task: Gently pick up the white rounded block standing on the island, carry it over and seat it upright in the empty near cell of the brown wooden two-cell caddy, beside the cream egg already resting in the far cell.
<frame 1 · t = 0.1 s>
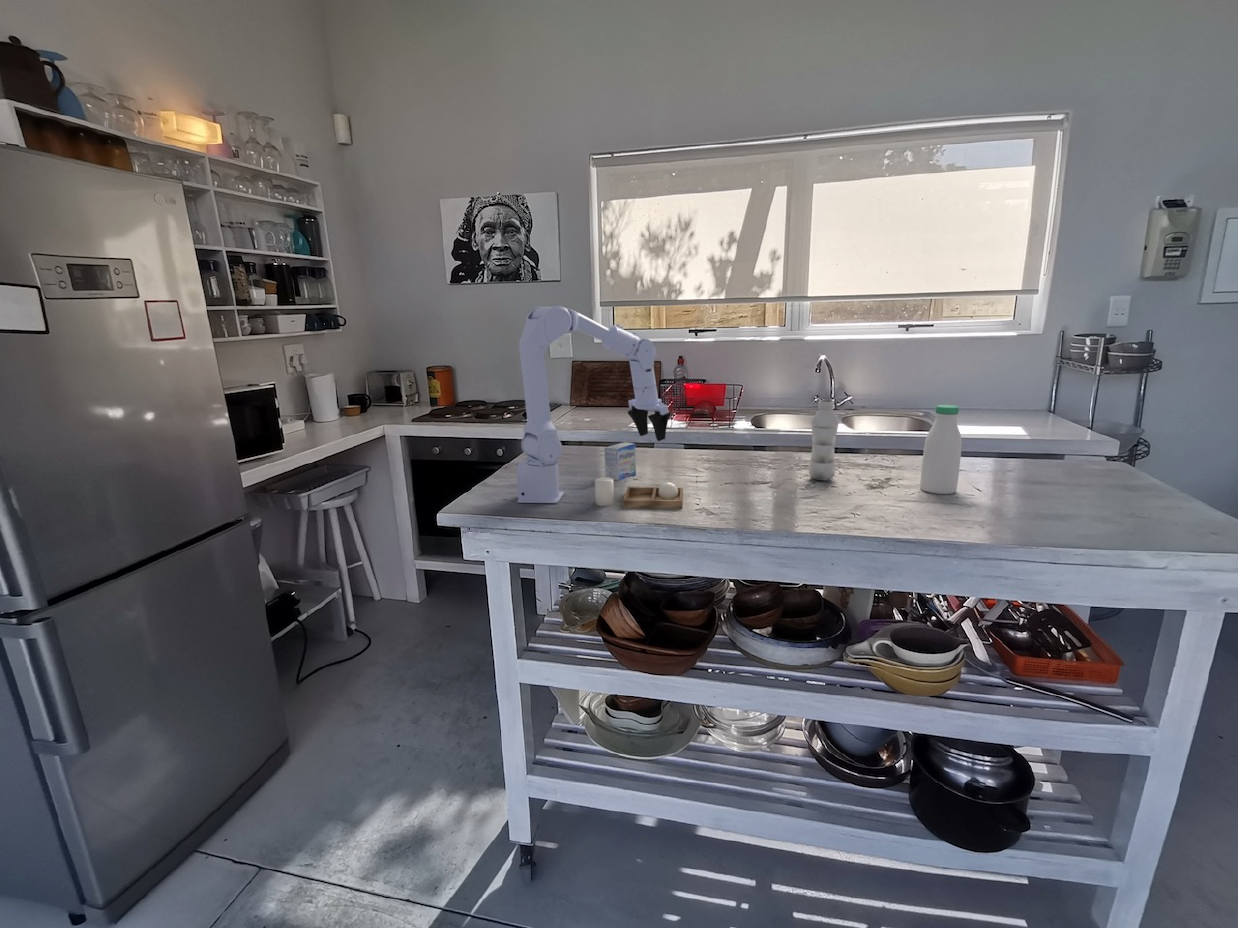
hand: (652, 437, 157), 11 cm above the counter, tool pointing down, fingers open, 7 cm apart
plastic bottle: (821, 480, 154), on the counter
ceramic egg: (668, 501, 138), resting on caddy
caddy: (653, 502, 138), on the counter
medicine box: (620, 478, 160), on the counter
milk bottle: (937, 490, 143), on the counter
white rounded block: (604, 505, 138), on the counter
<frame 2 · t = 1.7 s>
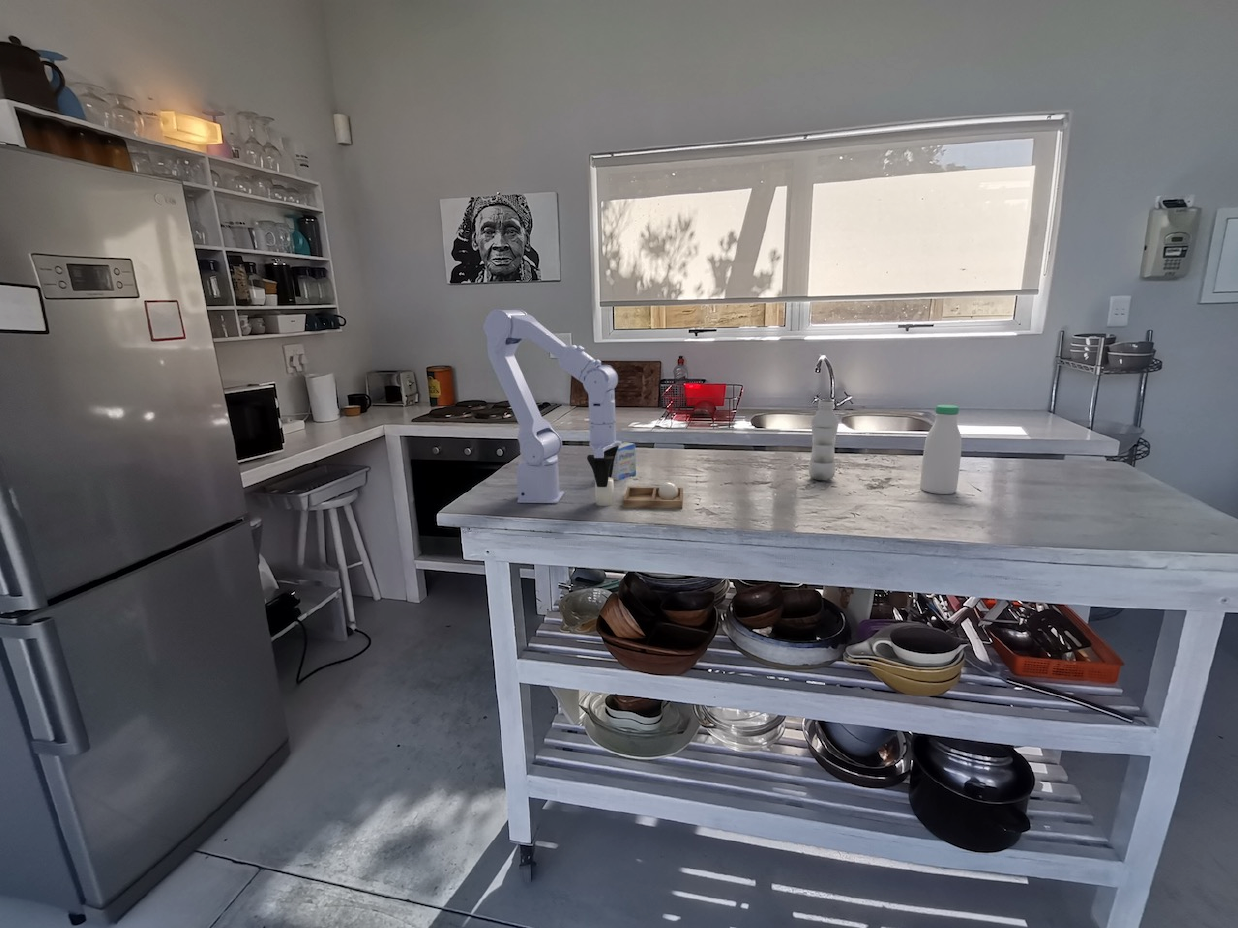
hand: (604, 481, 136), 5 cm above the counter, tool pointing down, fingers open, 7 cm apart
nothing on the counter moved.
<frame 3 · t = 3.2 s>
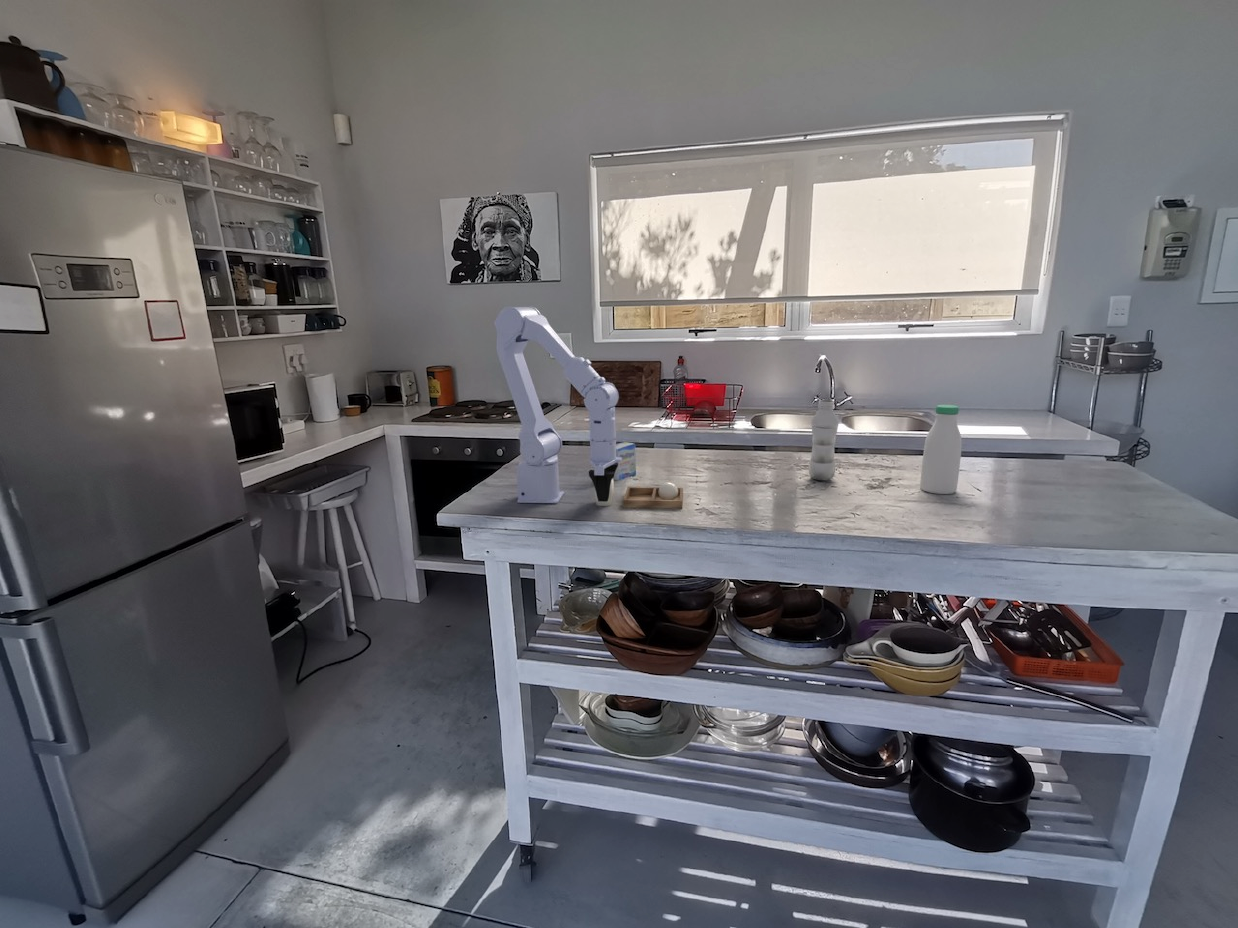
hand: (604, 497, 137), 2 cm above the counter, tool pointing down, fingers closed on white rounded block, 4 cm apart
white rounded block: (604, 505, 138), on the counter, touching gripper
everything else where it was.
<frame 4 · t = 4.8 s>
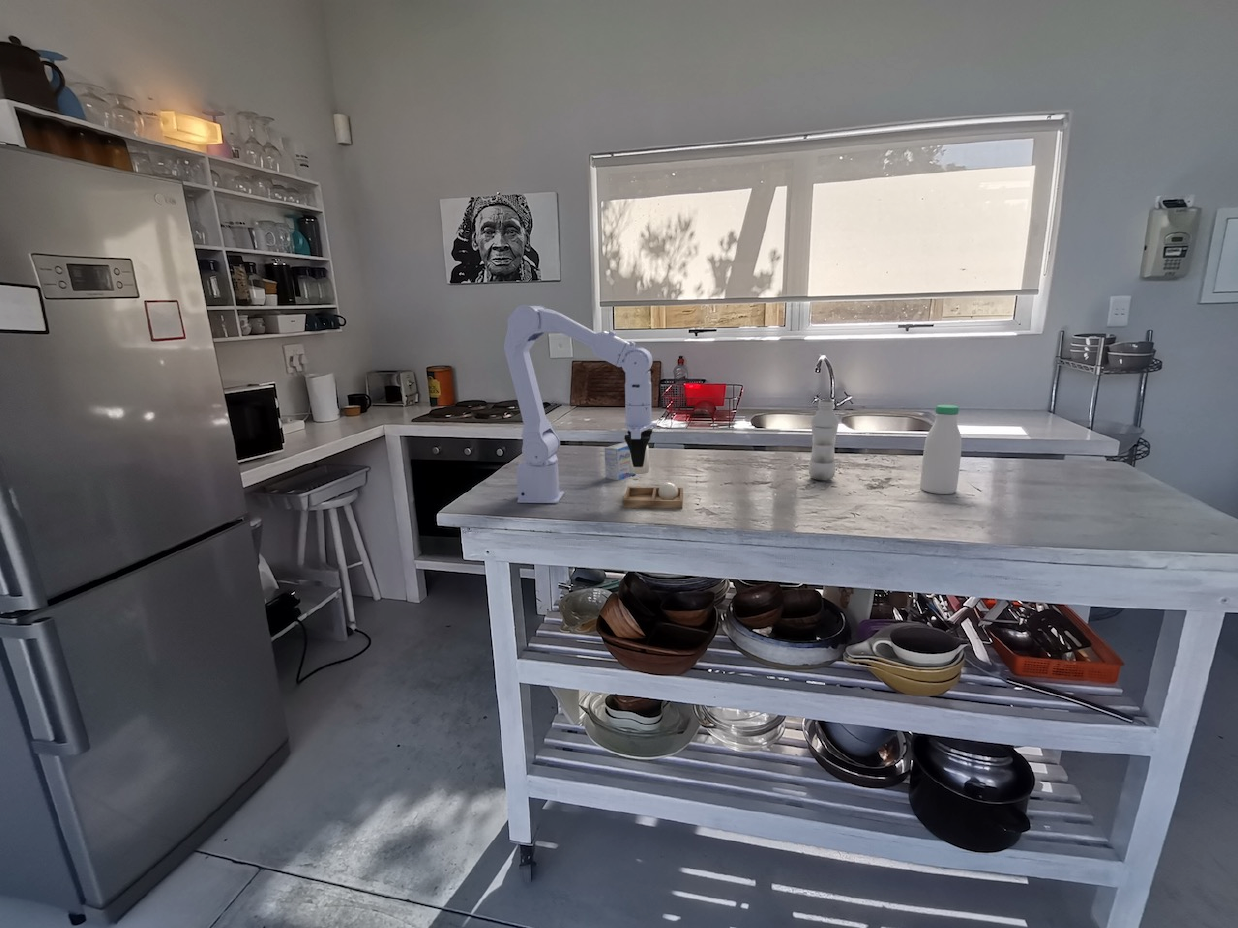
hand: (639, 463, 136), 9 cm above the counter, tool pointing down, fingers closed on white rounded block, 4 cm apart
white rounded block: (639, 471, 137), point 7 cm above the counter, touching gripper
everything else where it was.
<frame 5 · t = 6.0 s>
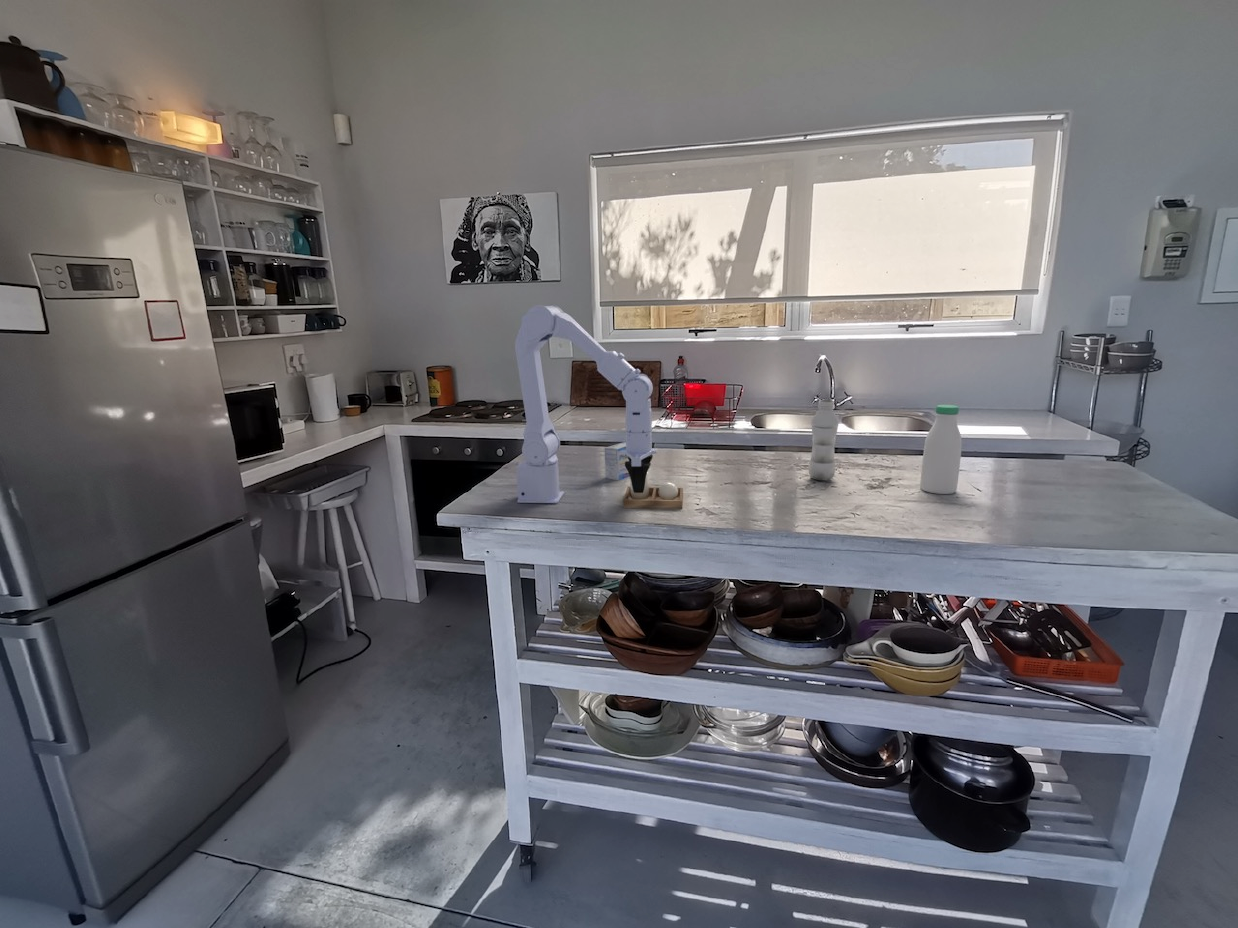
hand: (639, 489, 138), 3 cm above the counter, tool pointing down, fingers closed on white rounded block, 4 cm apart
white rounded block: (639, 496, 138), point 1 cm above the counter, touching gripper
everything else where it was.
when the fingers open (3 cm above the counter, at t = 6.6 s): white rounded block stays where it is, resting on caddy.
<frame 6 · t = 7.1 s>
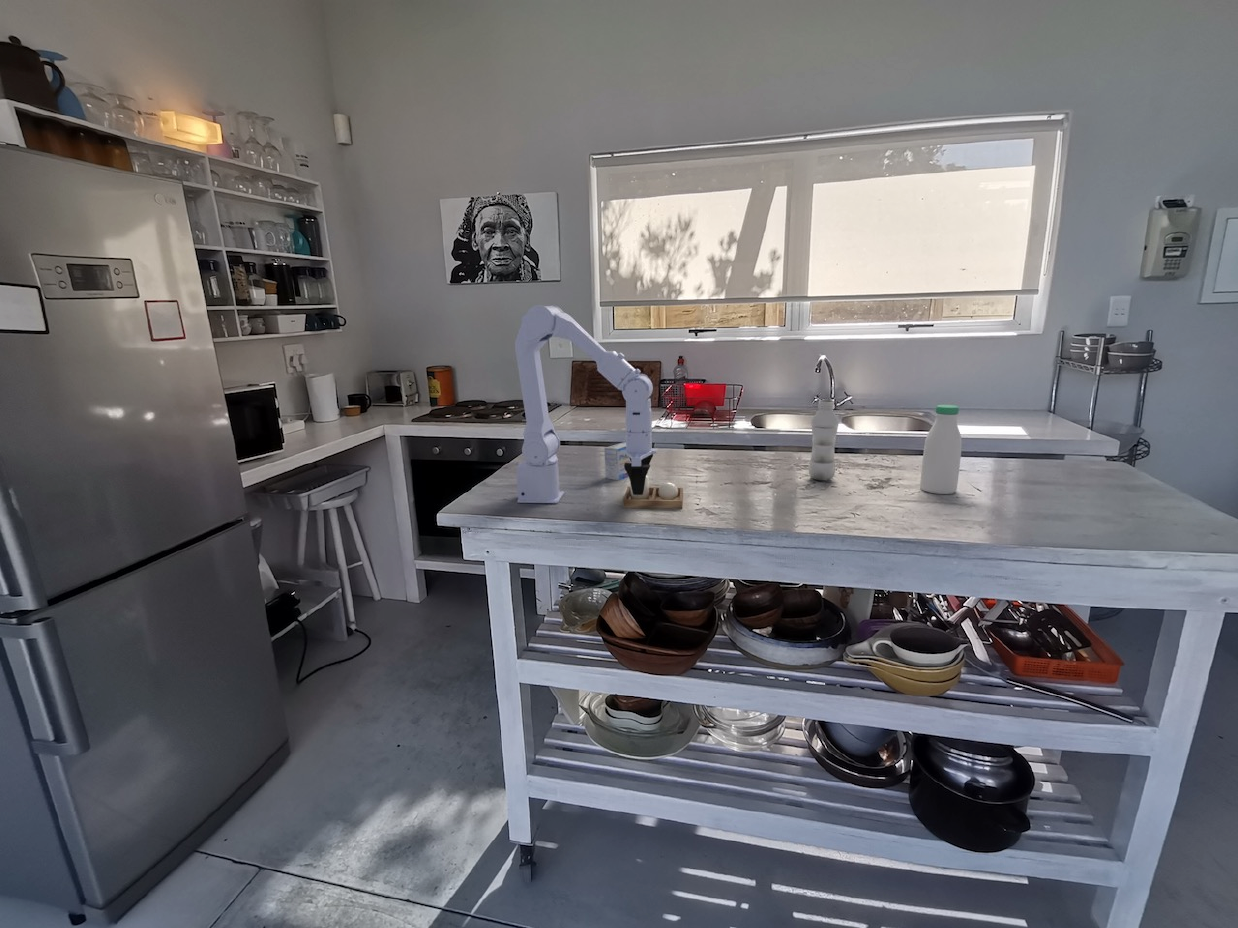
hand: (639, 489, 138), 3 cm above the counter, tool pointing down, fingers open, 7 cm apart
white rounded block: (639, 500, 138), resting on caddy
everything else where it was.
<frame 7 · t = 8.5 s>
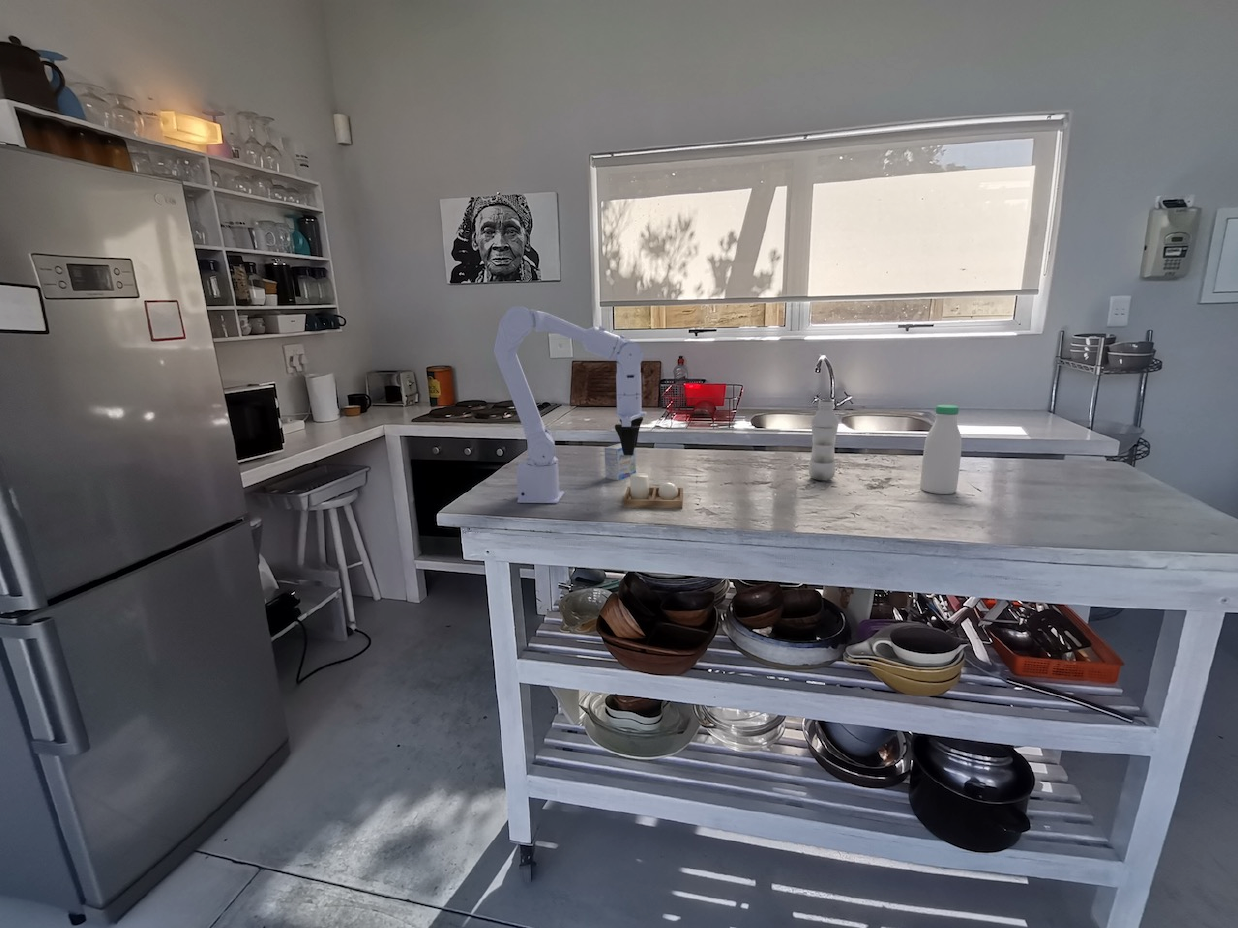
hand: (630, 451, 143), 10 cm above the counter, tool pointing down, fingers open, 7 cm apart
nothing on the counter moved.
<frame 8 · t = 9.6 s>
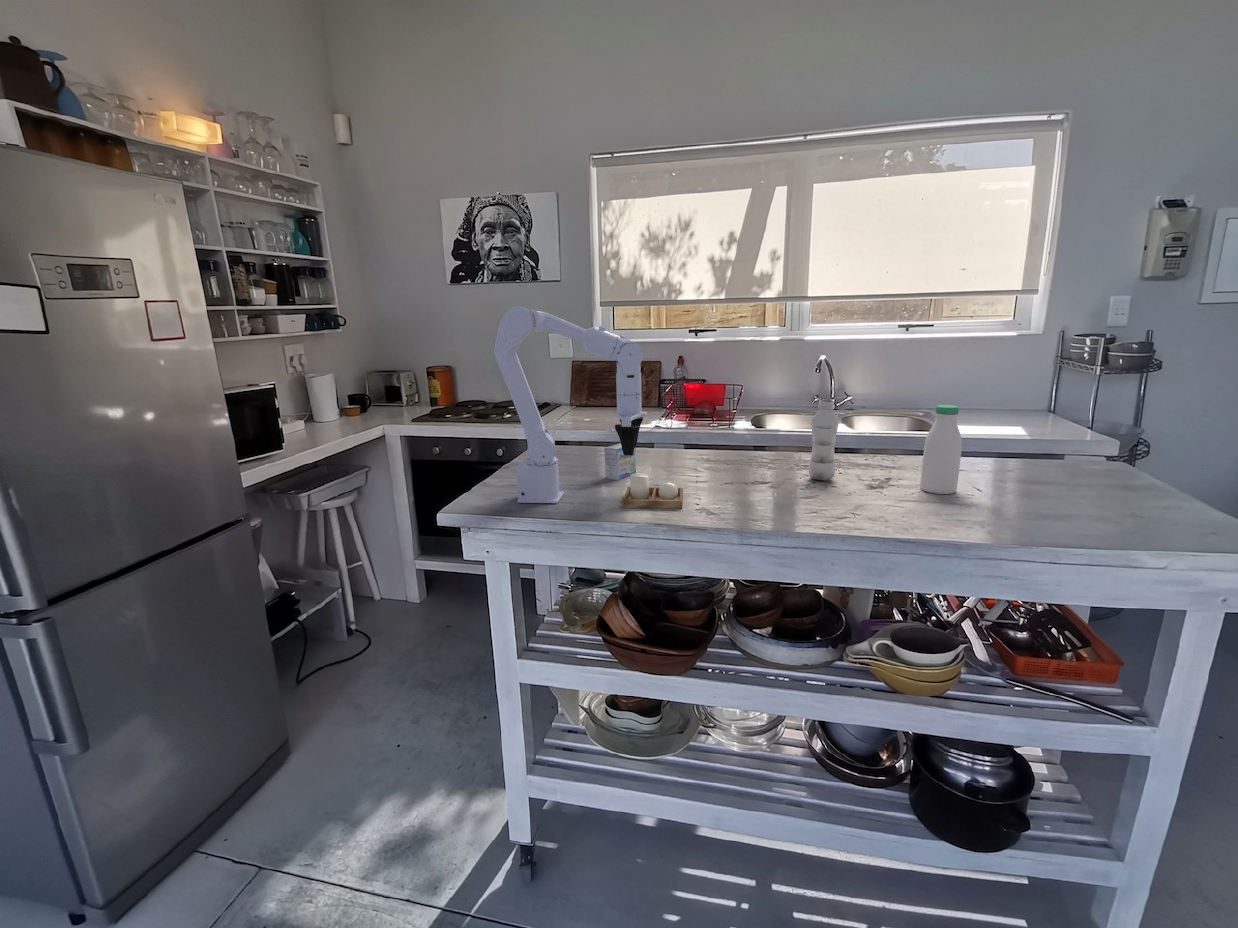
hand: (630, 451, 143), 10 cm above the counter, tool pointing down, fingers open, 7 cm apart
nothing on the counter moved.
at the end: white rounded block 0.0 cm from the target spot on the caddy, point 0.5 cm above the caddy's base; white rounded block tilted 0°; the gripper is holding nothing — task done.
